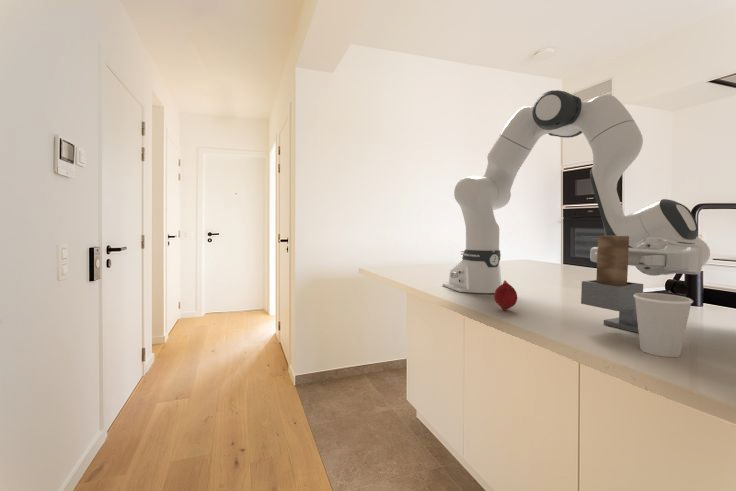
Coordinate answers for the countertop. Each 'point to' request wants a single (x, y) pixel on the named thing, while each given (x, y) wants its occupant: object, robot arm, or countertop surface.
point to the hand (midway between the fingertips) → (618, 258)
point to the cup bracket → (614, 301)
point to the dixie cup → (662, 322)
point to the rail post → (612, 260)
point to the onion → (505, 296)
